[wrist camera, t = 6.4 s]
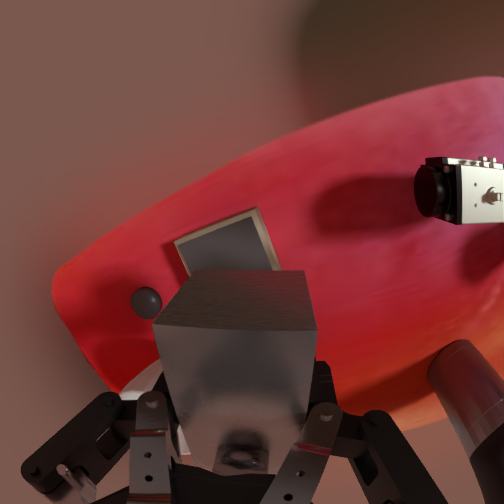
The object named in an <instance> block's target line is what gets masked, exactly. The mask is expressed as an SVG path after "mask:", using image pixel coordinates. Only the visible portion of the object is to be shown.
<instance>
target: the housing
mask: <svg viewBox="0 0 504 504" xmlns="http://www.w3.org/2000/svg"><path fill="white" fill-rule="evenodd" d="M152 327H153V332H154V336H155V340H156V344H157V349H158V353H159V356H160V360H161V364H162V368H163V372H164V375H165V379H166V382H167V386H168V389H169V392H170V396H171V399H172V402H173V405H174V408H175V412H176V415H177V418H178V421H179V423H180V426H181V429H182V432H183V435H184V437H185V440H186V443H187V446H188V448H189V451H190V453H191V456H192V458H193V461H194V463H195V466H199V467H205V468H212V470H213V473H216V474H219V475H222V476H230V475H240V474H248V473H254V474H268V473H278V471H279V469H280V467H281V466H282V464H283V462H284V460H285V458H286V456H287V454H288V452H289V450H290V448H291V447H292V445H293V444H294V443H296V441H297V440H298V437H299V435H300V433H301V431H302V429H303V427H304V425H305V420H306V414H307V408H308V402H309V395H310V388H311V381H312V374H313V366H314V358H315V350H316V341H317V331H318V330H317V326H316V321H315V316H314V311H313V307H312V302H311V298H310V293H309V289H308V285H307V280H306V276H305V272H304V270H195V271H194V272H193V273H192V275H191V276H190V277H189V278H188V279H187V281H186V282H185V283H184V284H183V286H182V287H181V288H180V289H179V290H178V292H177V293H176V294H175V295H174V297H173V298H172V299H171V300H170V302H169V303H168V304H167V305H166V307H165V308H164V309H163V310H162V312H161V313H160V314H159V315H158V317H157V318H156V319H155V320H154V322H153V323H152Z"/></svg>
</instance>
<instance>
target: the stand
mask: <svg viewBox="0 0 504 504" xmlns="http://www.w3.org/2000/svg"><path fill="white" fill-rule="evenodd" d="M174 244H175V246H176V248H177V250H178V253H179V255H180V257H181V259H182V262H183V264H184V266H185V268H186V270H187V273H188V275H189V277H190V276H191V275H192V273H193V272H194V271H195V270H282V269H281V266H280V264H279V261H278V258H277V256H276V253H275V250H274V248H273V245H272V243H271V240H270V238H269V235H268V232H267V230H266V227H265V225H264V222H263V220H262V217H261V214H260V212H259V209H258V207H257V206H256V207H254V208H251V209H248V210H246V211H243V212H241V213H238V214H235V215H233V216H230V217H228V218H225V219H223V220H220V221H218V222H215V223H213V224H210V225H208V226H205V227H203V228H200V229H198V230H195V231H193V232H191V233H188V234H186V235H183V236H182V237H180V238H179V239H177V240H175V241H174Z"/></svg>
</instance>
